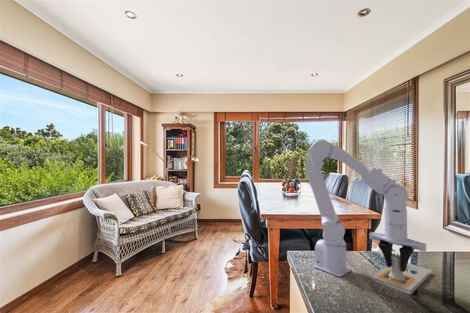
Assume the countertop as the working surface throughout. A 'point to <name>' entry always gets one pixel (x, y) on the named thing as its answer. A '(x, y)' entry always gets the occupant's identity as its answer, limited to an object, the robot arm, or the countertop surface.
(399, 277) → the rook chess piece
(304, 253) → the countertop surface
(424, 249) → the robot arm
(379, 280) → the rail plate
